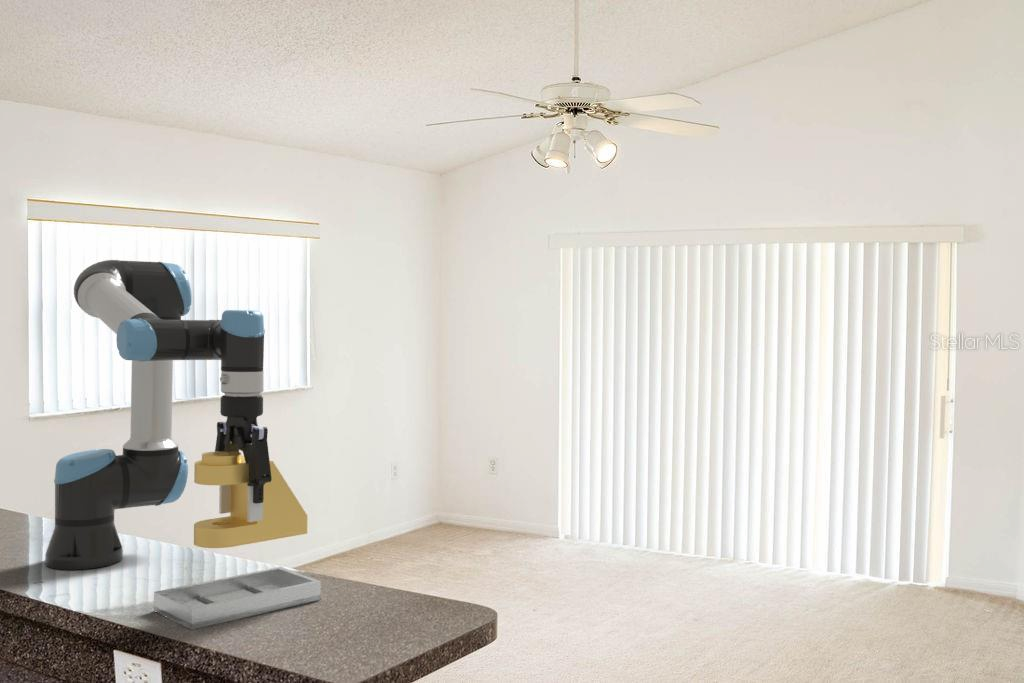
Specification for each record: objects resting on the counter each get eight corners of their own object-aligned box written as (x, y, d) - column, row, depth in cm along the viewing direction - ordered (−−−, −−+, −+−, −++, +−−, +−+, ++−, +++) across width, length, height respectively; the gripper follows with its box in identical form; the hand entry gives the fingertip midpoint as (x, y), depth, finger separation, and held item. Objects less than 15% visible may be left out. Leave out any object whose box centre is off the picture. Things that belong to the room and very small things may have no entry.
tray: (153, 611, 172) (154, 591, 172) (280, 584, 191) (280, 566, 191) (191, 629, 162) (192, 609, 162) (320, 599, 181) (321, 581, 181)
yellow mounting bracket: (210, 550, 167) (211, 458, 166) (184, 541, 173) (185, 453, 173) (307, 533, 181) (308, 449, 181) (279, 525, 188) (280, 444, 187)
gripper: (193, 391, 180) (192, 510, 181) (255, 399, 165) (254, 529, 166) (229, 389, 186) (228, 505, 186) (293, 397, 171) (291, 523, 171)
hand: (240, 516), depth 176 cm, fingers closed on yellow mounting bracket, 9 cm apart
